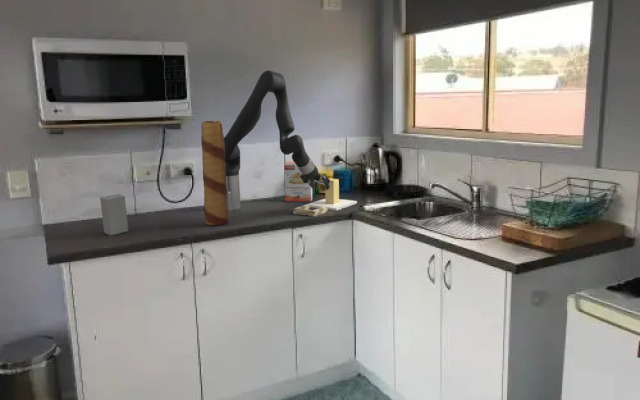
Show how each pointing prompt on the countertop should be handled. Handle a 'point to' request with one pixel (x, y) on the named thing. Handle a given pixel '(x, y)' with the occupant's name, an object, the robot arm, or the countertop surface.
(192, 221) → the countertop surface
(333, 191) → the block
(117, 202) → the skincare box
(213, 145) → the wafer roll
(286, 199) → the cracker box
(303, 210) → the pocket
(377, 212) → the countertop surface
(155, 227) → the countertop surface
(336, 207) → the chopping board
